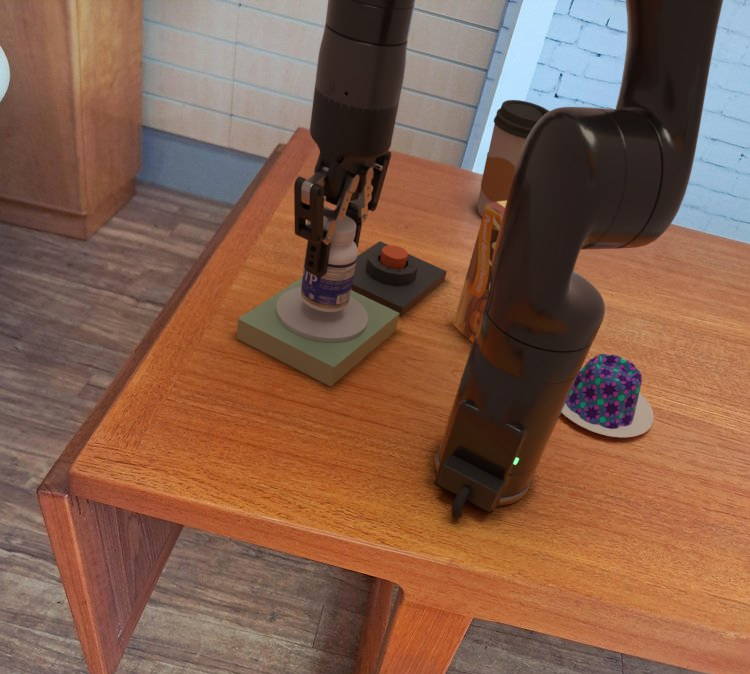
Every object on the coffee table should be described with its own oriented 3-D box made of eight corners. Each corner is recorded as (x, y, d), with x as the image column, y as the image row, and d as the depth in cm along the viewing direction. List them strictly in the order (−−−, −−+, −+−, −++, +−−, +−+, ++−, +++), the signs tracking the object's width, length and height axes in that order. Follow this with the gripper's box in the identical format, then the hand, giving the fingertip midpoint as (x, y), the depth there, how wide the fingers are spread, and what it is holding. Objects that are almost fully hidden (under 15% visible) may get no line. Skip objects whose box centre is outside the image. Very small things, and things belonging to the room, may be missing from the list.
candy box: (523, 360, 90) (569, 237, 80) (495, 368, 88) (540, 242, 78) (476, 319, 95) (514, 197, 84) (449, 325, 93) (485, 201, 82)
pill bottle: (295, 286, 84) (304, 207, 78) (341, 286, 86) (354, 209, 80) (306, 314, 81) (317, 234, 75) (354, 313, 83) (369, 235, 76)
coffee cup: (531, 217, 119) (566, 114, 108) (509, 234, 113) (543, 128, 103) (484, 196, 121) (513, 94, 110) (459, 212, 115) (488, 105, 105)
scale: (330, 387, 80) (335, 362, 78) (236, 338, 83) (238, 313, 81) (395, 331, 90) (400, 308, 88) (308, 289, 93) (311, 266, 90)
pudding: (558, 360, 92) (574, 322, 88) (657, 398, 90) (677, 361, 86) (534, 415, 83) (551, 375, 80) (642, 457, 81) (665, 419, 78)
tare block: (400, 317, 92) (405, 295, 90) (329, 284, 94) (332, 261, 92) (444, 281, 100) (450, 259, 98) (377, 250, 102) (382, 229, 100)
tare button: (397, 273, 94) (400, 261, 93) (374, 262, 95) (377, 251, 94) (409, 263, 96) (412, 252, 95) (387, 253, 97) (390, 242, 96)
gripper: (351, 121, 63) (323, 304, 75) (431, 86, 72) (395, 253, 84) (275, 90, 65) (259, 273, 76) (363, 60, 74) (337, 227, 86)
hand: (331, 262), depth 80 cm, fingers closed on pill bottle, 5 cm apart
